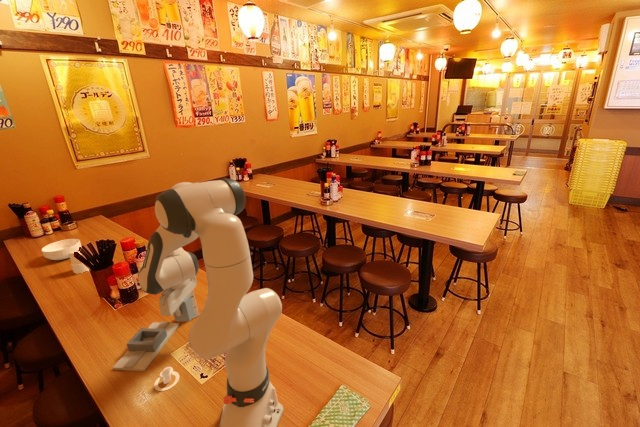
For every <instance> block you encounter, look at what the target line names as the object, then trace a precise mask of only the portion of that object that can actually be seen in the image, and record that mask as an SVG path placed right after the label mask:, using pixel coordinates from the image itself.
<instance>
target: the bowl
mask: <svg viewBox="0 0 640 427" xmlns="http://www.w3.org/2000/svg"><path fill="white" fill-rule="evenodd" d="M79 247H81V248H82V243H81V240H80V239H78V238H67V239H61V240H58V241H55V242H51V243H49V244H47V245H45V246H43V247H42V248H41V250H40V251H41V252H42V255H43V256H44V258H46V259H48V260H51V261H62V260H66V259H70V257H69V254H68V253H69V252H71V251H78V250H79Z"/></svg>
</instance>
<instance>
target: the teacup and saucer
mask: <svg viewBox="0 0 640 427" xmlns="http://www.w3.org/2000/svg"><path fill="white" fill-rule="evenodd" d="M172 376H174V377H175V380H174V381H173V383H172V384H170V385H169V386H167V387H160V386H159V382H160V381H162V383H163V385H166V384H169V383H170V382H171V380H172ZM179 380H180V374H179V372H177V371H174V369H173V367H172V366H166V367H164V368H163V370H162V371H161V372H160V373H159V376H158V378H156V380H155V381H154V383H153V388H154V390H156V391H157V392H165V391H168V390H170V389H172V388H173V387H174V386H176V385H177V383H178V382H179Z"/></svg>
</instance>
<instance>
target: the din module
mask: <svg viewBox="0 0 640 427" xmlns="http://www.w3.org/2000/svg"><path fill="white" fill-rule="evenodd" d="M179 307H180V308H179V310H182V312H183V313H182V314H181V316H177V315H176V312H174V313H173V314H172V316H173V318H174V321H175V322H187V323H188V322H191V321H192V318H193V317H194V315H195V313H194V309H193V305H192V300H191V296H187V297H186V298H185V299H184V300H183V302H182V304H181V305H180V306H179ZM193 319H194V318H193Z"/></svg>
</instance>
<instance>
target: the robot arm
mask: <svg viewBox="0 0 640 427" xmlns="http://www.w3.org/2000/svg"><path fill="white" fill-rule="evenodd" d="M245 205H246V195H245V191H244V188H243V187H242V185H241V184H240V183H239V182H238V180H237V181H236V180H235V179H233V178H219V179H217V180H208V181H202V182H199V181H198V182H190V181H183V182H178V183H175V184H174V185H172V186H171V188H169V189H166V190H164V191H162V192H161V193H159V194H157V195H156V198H155V200H154V214H155V217H156V219H157V221H158V223H159V224H160V225H158V228H156V230H155V231H154V232H153V233H152V234H151V235H150V237H149V240H148V243H147V246H146V250H145V254H144V259H143V263H142V266H141V267H140V270H139V271H138V276H137V277H138V283H139V286H140V288H141V289H142V291H143V292H144V293H146V294H150V295H154V296H156V295H159V294H161V295H160V297H159V300H158V304H159V311H160V315H161V316H163V317H172V316H173V313H174V312H176V315H177V316H181V314H182V313H183V312H182V310H179V308H180V307H179V306H180V305H181V304H182V302H183V300H184V299H185V298H186V297H187V296H190V293H191V292H192V291H193V292H194V290H195V288H196V287H197V285H198V284H197V283H198V281H197V277H196V276H197V274H198V273H199V269H200V265H199V261H198V258H197V256H196V255H195V254H194V253H192V252H190V251H186V250H184V248H183V247H184V246H187V245H189V244H191V243H193V242H194V241H195V240H197V239H198V238H199V240H200V244H201V250H202V257H203V263H204V266H205V272H206V280H207V296H206V299H205V303H204V305H203V307H202V310H201V312H200V313H199V316H197V317H196V318H197V319H196V320H195V321H194V322H193V323H192V324H191V325H190V329H189V333H188V343H189V346H190V348H191V350H192V351H193V353H194V354H195V355H196V356H197V357H198V358H201V359H204V360H210V359H213V358H216V357H218V356H221V355H225V357H224V366H225V369H226V376H227V378H226V395H224V398H223V407H222V411H221V412H222V413H221V417H220V422H219V426H218V427H278V426H279V422H280V421H281V418H282V416H283V413H284V411H285V410H284V406H283V404H282V403H280V402H279V400H278V399H279V398H278V395H277V390H276V388H275V386H274V385H273V384H272V382H271V380H270V371H269V368H268V366H267V362H266V361H267V360H266V348H267V343H268V340H269V336H270V335H271V332H272V330H273V328H274V326H275V324H276V323H277V321H278V320H279V319H280V317H281V316H282V311H283V304H282V300H281V299H280V296H279V295H278V294H277V292H276V291H274V290H273V289H271V288H268V287H264V288H261V289H257V290H253V291H250V292H249V290H250V289H251V287H252V284H253V282H254V281H253V280H254V270H253V264H252V258H251V250H250V245H249V241H248V237H247V234H246V231H245V227H244V225H243V222H242V221H241V218H239V217H238V216H237V215H239V214H240V213H242V212H243V210H245Z"/></svg>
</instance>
